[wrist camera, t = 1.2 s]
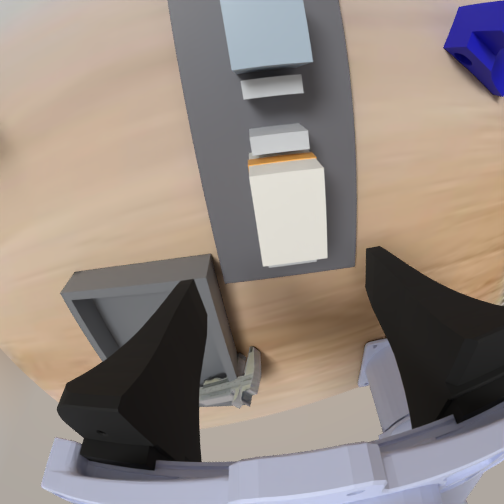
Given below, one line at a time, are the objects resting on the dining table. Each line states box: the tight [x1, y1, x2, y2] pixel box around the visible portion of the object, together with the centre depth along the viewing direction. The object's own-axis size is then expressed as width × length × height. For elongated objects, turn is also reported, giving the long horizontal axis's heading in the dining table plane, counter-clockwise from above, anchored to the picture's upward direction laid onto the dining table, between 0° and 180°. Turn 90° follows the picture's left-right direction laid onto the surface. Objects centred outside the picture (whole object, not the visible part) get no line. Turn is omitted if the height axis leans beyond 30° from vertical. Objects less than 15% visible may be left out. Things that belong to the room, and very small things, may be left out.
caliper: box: [199, 346, 261, 409], centre depth 29 cm, size 20×1×6 cm, turn 131°
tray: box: [60, 254, 246, 407], centre depth 26 cm, size 13×17×3 cm
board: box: [168, 0, 357, 284], centre depth 15 cm, size 10×26×4 cm, turn 8°
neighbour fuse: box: [220, 0, 313, 74], centre depth 12 cm, size 4×5×5 cm
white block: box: [248, 149, 327, 267], centre depth 17 cm, size 4×5×5 cm
